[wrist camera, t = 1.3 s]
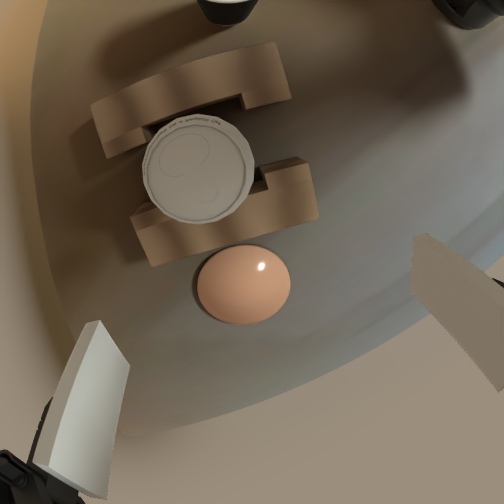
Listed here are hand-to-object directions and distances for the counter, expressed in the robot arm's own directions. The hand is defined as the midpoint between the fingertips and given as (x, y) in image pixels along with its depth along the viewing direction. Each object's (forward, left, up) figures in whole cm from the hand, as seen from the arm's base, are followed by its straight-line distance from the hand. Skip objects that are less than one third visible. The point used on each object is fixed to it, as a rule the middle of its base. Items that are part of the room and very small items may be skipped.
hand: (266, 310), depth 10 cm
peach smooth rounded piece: (+3, +15, -25) cm, 30 cm away
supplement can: (+2, -4, -26) cm, 26 cm away
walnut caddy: (+2, -4, -25) cm, 26 cm away
